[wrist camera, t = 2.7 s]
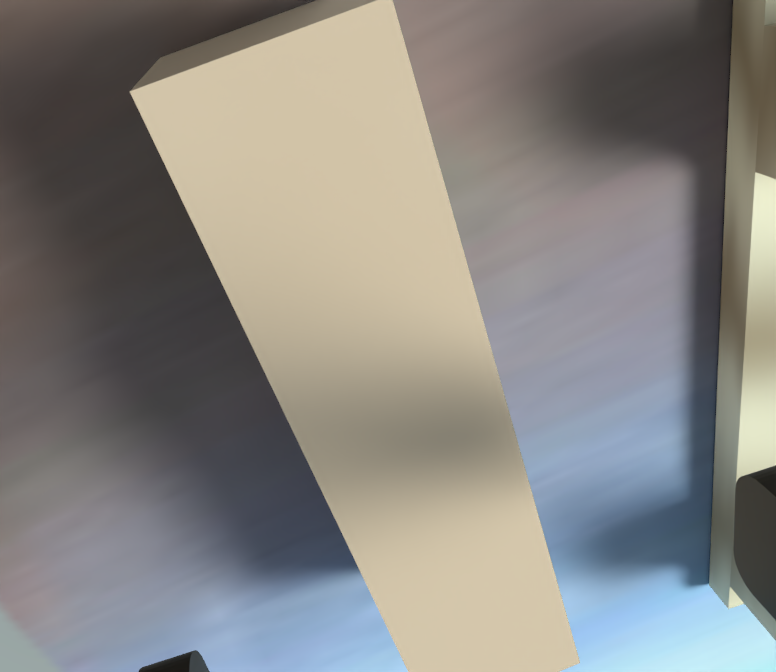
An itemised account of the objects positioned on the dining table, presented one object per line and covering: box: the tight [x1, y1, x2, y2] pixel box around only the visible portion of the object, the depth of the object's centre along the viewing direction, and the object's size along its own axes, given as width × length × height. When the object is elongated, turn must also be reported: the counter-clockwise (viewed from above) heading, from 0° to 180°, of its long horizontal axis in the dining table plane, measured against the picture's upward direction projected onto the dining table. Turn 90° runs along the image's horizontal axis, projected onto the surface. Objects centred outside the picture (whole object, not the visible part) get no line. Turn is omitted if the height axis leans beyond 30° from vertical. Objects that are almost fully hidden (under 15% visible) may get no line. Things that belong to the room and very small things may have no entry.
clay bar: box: [130, 0, 580, 672], centre depth 14 cm, size 14×4×5 cm, turn 18°
